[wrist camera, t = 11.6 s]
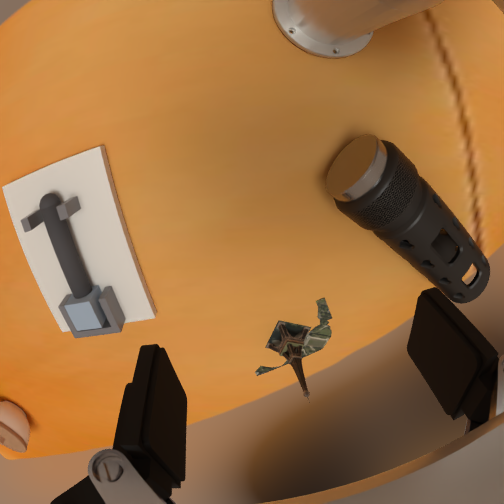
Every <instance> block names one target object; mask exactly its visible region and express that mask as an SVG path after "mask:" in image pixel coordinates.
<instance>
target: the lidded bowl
mask: <svg viewBox="0 0 504 504" xmlns="http://www.w3.org/2000/svg"><path fill="white" fill-rule="evenodd" d="M29 437H30V426H29V423H28V420H27V416H26V414H25V413H24V411H23V410H22V409H21V408H19V407H18V406H17V405H15V404H14V403H12V402H10V401H3V402H0V444H1V445H4V446H6V447H8V448H10V449H12V450H14V451H17V452H26V450H27V445H28V442H29Z"/></svg>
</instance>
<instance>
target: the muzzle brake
mask: <svg viewBox="0 0 504 504" xmlns="http://www.w3.org/2000/svg"><path fill="white" fill-rule="evenodd" d="M326 189H327V191H328V193H329V194H330V195H331V196H333V197H334V200H335V203H336V206H337V208H338V209H339V210H340V211H341V212H342V213H344V214H345V215H346V216H348V217H349V218H350V219H352V220H353V221H354V222H356V223H357V224H358V225H359V226H361V227H362V228H364V229H367V230H373V232H374V234H375V235H376V236H377V237H379V238H380V239H381V240H383V241H384V242H386V243H387V244H388V245H389V246H390V247H391V248H392V249H393V250H394V251H396V252H397V253H398V254H399V255H400V256H402V257H403V258H404V259H406V260H407V261H408V262H409V263H410V264H411V265H412V266H413V267H415V268H416V269H417V270H418V271H419V272H420V273H421V274H423V275H424V276H425V277H426V278H427V279H428V280H429V281H430V282H432V283H433V284H434V285H435V286H436V287H437V288H438V289H439V290H441V291H442V292H443V293H444V294H445V295H446V296H447V297H448V298H449V299H450V300H452V301H453V302H456V303H467V302H470V301H472V300H474V299H476V298H477V297H478V296H479V295H480V294H481V293H482V292H483V291H484V289H485V287H486V286H487V283H488V280H489V276H490V266H489V263H488V260H487V259H486V257H485V256H484V254H483V253H482V251H481V250H480V249H479V247H478V246H477V244H476V243H475V242H474V240H473V239H472V237H471V236H470V235H469V233H468V232H467V231H466V229H465V228H464V227H463V225H462V224H461V223H460V222H459V220H458V219H457V218H456V216H455V215H454V214H453V213H452V211H451V210H450V209H449V208H448V206H447V205H446V204H445V203H444V202H443V200H442V199H441V198H440V197H439V196H438V195H437V193H436V192H435V191H434V190H433V189H432V188H431V187H430V185H429V184H428V183H427V182H426V181H425V180H424V179H423V178H422V177H420V176H419V175H418V172H417V169H416V167H415V165H414V164H413V163H412V162H411V161H410V160H409V159H408V158H407V157H406V156H405V155H404V154H403V153H402V152H401V151H400V150H399V149H398V148H397V147H396V146H395V145H394V144H393V143H391V142H388V141H384V140H379V139H378V138H377V137H376V136H374V135H371V134H366V135H362V136H360V137H358V138H356V139H355V140H353V141H352V142H351V143H349V144H348V145H347V146H346V147H345V148H344V149H343V150H342V151H341V152H340V154H339V155H338V156H337V158H336V159H335V161H334V162H333V164H332V166H331V168H330V170H329V172H328V175H327V179H326ZM441 229H445V230H446V231H443V230H441ZM456 246H458V247H456ZM472 263H473V265H474V266H475V267H476V269H477V273H476V276H475V277H474V279H473V280H472V281H471V283H470V284H468V285H466V284H465V283H464V282H463V281H462V277H463V276H464V275H465V274H466V272H467V271H468V270H469V268H470V266H471V264H472Z"/></svg>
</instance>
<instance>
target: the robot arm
mask: <svg viewBox="0 0 504 504" xmlns="http://www.w3.org/2000/svg"><path fill="white" fill-rule="evenodd" d="M443 1H444V0H273V1H272V10H273V15H274V18H275V21H276V23H277V25H278V27H279V28H280V30H281V31H282V33H283V34H284V35H285V36H286V37H287V38H288V39H289V40H290V41H291V42H292V43H293V44H295V45H296V46H297V47H299V48H301V49H302V50H304V51H306V52H308V53H311V54H313V55H316V56H320V57H325V58H342V57H347V56H350V55H353V54H355V53H357V52H359V51H360V50H362V49H363V48H364V47H365V46H366V45H367V44H368V43H369V41H370V40H371V38H372V35H373V32H374V31H375V30H377V29H379V28H381V27H384V26H386V25H388V24H391V23H393V22H396V21H398V20H401V19H403V18H406V17H408V16H411V15H413V14H416V13H419V12H422V11H424V10H426V9H429V8H432V7H434V6H436V5H438V4H440V3H441V2H443ZM493 2H494V3H495V4H496V5H497V6H498V7H499V9H500V10H501V11H502V12H503V13H504V0H493ZM289 31H292V33H293V34H291V33H289ZM333 51H335V53H334V52H333ZM407 351H408V354H409V356H410V357H411V359H412V360H413V362H414V363H415V365H416V366H417V368H418V369H419V371H420V372H421V374H422V376H423V377H424V379H425V380H426V382H427V383H428V385H429V387H430V388H431V390H432V391H433V393H434V395H435V396H436V398H437V399H438V401H439V403H440V404H441V406H442V408H443V409H444V411H445V412H446V414H447V415H451V417H452V419H453V420H455V419H457V418H459V417H461V416H462V415H464V414H465V415H466V416H467V423H466V429H465V434H464V435H463V436H462V437H460V438H458V439H456V440H454V441H452V442H451V443H449V444H447V445H445V446H443V447H441V448H439V449H437V450H435V451H433V452H431V453H429V454H427V455H424V456H422V457H420V458H418V459H415V460H413V461H411V462H408V463H406V464H404V465H402V466H399V467H397V468H394V469H392V470H389V471H386V472H383V473H381V474H378V475H375V476H372V477H369V478H366V479H364V480H361V481H357V482H354V483H351V484H348V485H344V486H341V487H337V488H334V489H330V490H326V491H322V492H318V493H314V494H310V495H305V496H301V497H295V498H290V499H285V500H279V501H273V502H267V503H260V504H504V355H503V356H502V357H501V358H500V359H499V358H498V357H497V355H498V352H497V351H496V350H495V349H494V347H493V346H492V345H491V344H490V343H489V342H488V341H487V340H486V338H485V337H484V336H483V335H482V334H481V333H480V332H479V331H478V330H477V328H476V327H475V326H474V325H473V324H472V323H471V322H470V321H469V320H468V319H467V318H466V317H465V316H464V315H463V313H462V312H461V311H460V310H459V309H458V308H457V307H456V306H455V305H454V304H453V303H452V302H451V301H450V300H449V299H448V298H447V297H446V296H445V295H444V294H443V293H442V292H441V291H440V290H439V289H438V288H436V287H434V288H430V289H427V290H424V291H422V292H421V295H420V296H419V297H418V300H417V305H416V310H415V315H414V320H413V324H412V328H411V333H410V337H409V341H408V345H407ZM186 421H187V397H186V394H185V391H184V389H183V387H182V385H181V383H180V381H179V379H178V377H177V375H176V373H175V371H174V368H173V366H172V364H171V362H170V360H169V357H168V355H167V353H166V351H165V349H164V348H160V347H159V345H158V344H153V345H143V346H141V348H140V351H139V355H138V360H137V364H136V368H135V372H134V377H133V381H132V383H128V384H127V385H126V387H125V391H124V395H123V399H122V404H121V409H120V413H119V418H118V423H117V428H116V433H115V438H114V444H113V449H105V450H102V451H99V452H98V453H96V454H95V455H94V456H93V457H92V458H91V460H90V461H89V465H88V474H89V475H88V476H87V477H86V478H84V479H83V480H82V481H80V482H79V483H77V484H76V485H74V486H73V487H71V488H70V489H69V490H67V491H66V492H64V493H63V494H61V495H60V496H58V497H57V498H55V499H54V500H53V501H52V502H51V504H176V503H175V502H174V501H173V500H172V499H171V498H170V496H171V494H172V488H181V481H184V480H185V464H186V462H185V461H186V460H185V459H186Z"/></svg>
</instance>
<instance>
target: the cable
mask: <svg viewBox="0 0 504 504" xmlns="http://www.w3.org/2000/svg"><path fill="white" fill-rule="evenodd" d="M60 204H61V201H60V199H59V197H58V196H57V195H56V194H54V193H48V194H45V195H44V196H43V197H42V198H41V200H40V204H39V207H40V211H41V214H42V217H43V220H44V223H45V226H46V229H47V232H48V235H49V238H50V240H51V243H52V246H53V248H54V251H55V254H56V256H57V259H58V261H59V264H60V266H61V269H62V271H63V273H64V276H65V278H66V280H67V283H68V285H69V287H70V289H71V292H72V294H71V296H70V297H69V299H68V301H67V302H66V304H65V305H64V307H65V309H66V311H67V313H68V315H69V317H70V319H71V320H72V322H73V324H74V326H75V328H76V330H77V331H81V330H89V329H96V328H102V326H103V324H104V322H105V320H106V315H105V313H104V311H103V309H102V307H101V304H100V302H99V300H98V299H99V297H100V295H101V293H102V291H101V289H100V286H99V285H95V286H91V284H90V282H89V280H88V277H87V275H86V272H85V270H84V267H83V265H82V262H81V260H80V257H79V255H78V252H77V249H76V246H75V244H74V241H73V238H72V235H71V232H70V230H69V227H68V224H67V221H66V219H64V220H61V221H60V218H59V215H58V211H57V208H56V207H57V206H58V205H60Z"/></svg>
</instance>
